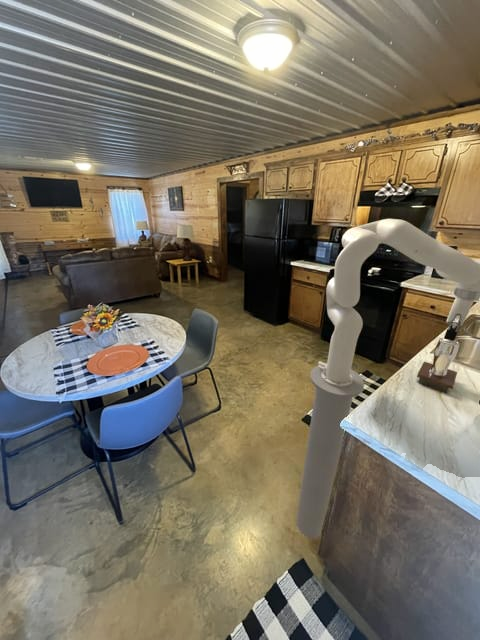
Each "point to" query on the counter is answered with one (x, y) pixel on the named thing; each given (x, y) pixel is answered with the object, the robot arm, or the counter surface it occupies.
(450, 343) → the beer glass
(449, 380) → the lidded box
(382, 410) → the counter surface
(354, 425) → the counter surface
